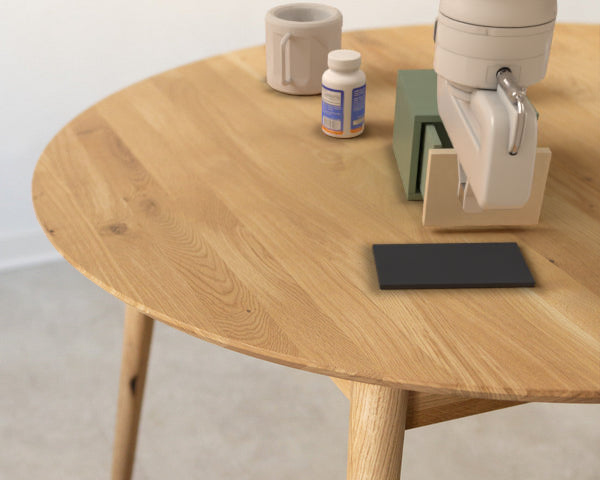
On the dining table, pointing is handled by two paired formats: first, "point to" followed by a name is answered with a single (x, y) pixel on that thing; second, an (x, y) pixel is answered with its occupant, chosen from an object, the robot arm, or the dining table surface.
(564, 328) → the dining table surface
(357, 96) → the pill bottle
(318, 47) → the mug
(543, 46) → the robot arm
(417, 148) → the cabinet
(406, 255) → the mat
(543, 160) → the drawer
